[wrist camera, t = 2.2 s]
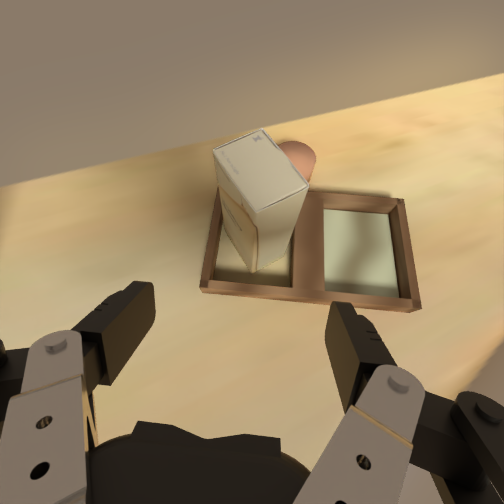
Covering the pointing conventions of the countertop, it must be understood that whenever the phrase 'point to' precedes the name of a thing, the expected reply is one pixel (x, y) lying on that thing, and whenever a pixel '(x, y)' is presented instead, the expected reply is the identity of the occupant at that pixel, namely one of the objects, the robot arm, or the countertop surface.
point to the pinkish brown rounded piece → (300, 157)
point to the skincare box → (258, 197)
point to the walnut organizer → (336, 255)
